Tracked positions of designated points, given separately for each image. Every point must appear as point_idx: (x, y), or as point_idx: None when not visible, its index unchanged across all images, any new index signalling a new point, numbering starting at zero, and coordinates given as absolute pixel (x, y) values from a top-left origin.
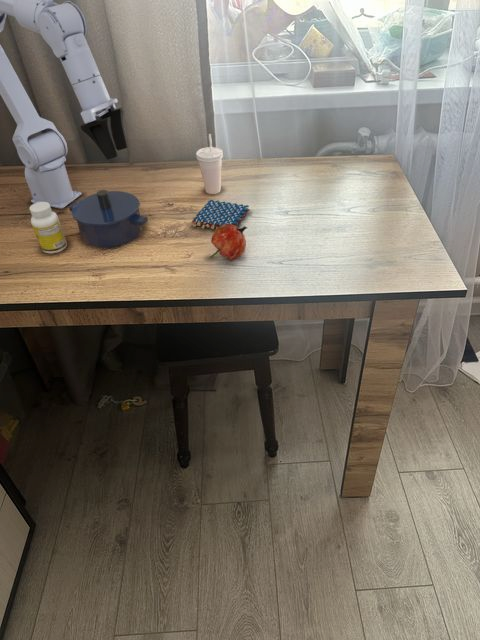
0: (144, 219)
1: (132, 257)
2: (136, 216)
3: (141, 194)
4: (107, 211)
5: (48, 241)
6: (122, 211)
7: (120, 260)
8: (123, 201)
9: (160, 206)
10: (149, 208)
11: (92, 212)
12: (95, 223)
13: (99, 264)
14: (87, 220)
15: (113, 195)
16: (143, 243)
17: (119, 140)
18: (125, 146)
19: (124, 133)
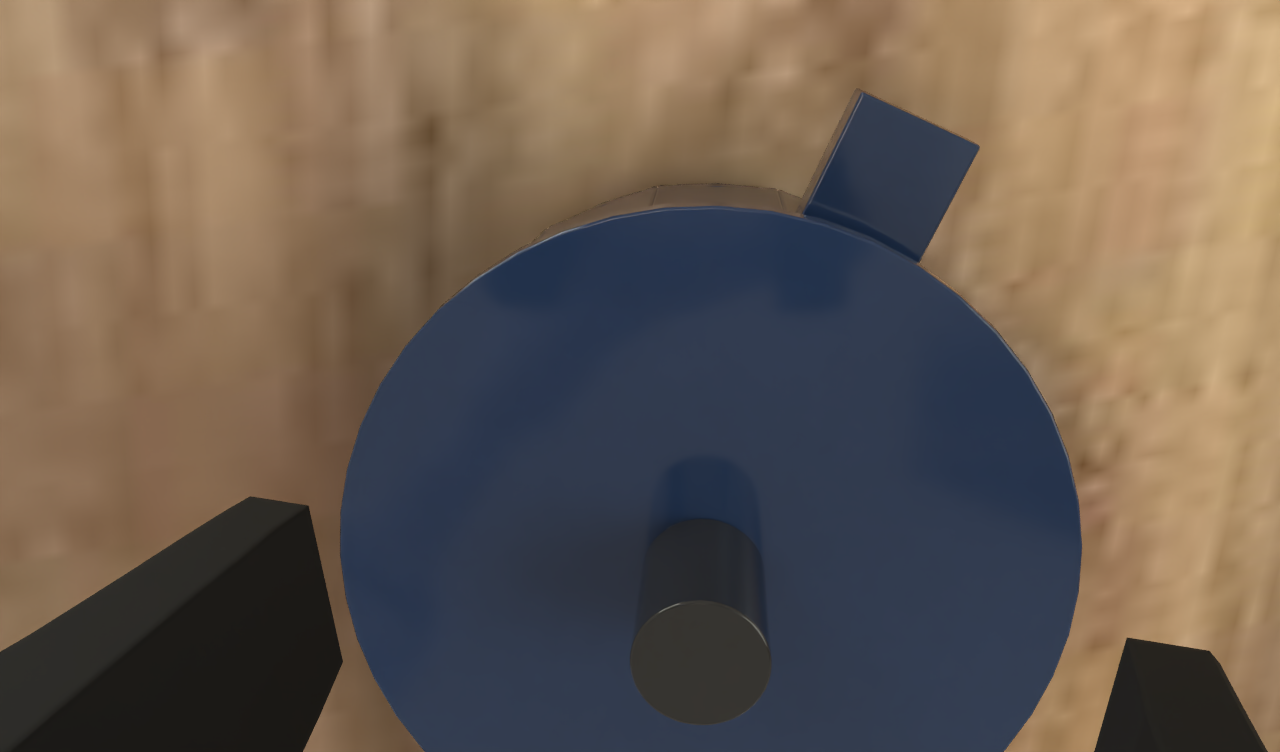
0: (914, 115)
1: (1198, 207)
2: (841, 218)
3: (5, 282)
4: (811, 541)
5: None
6: (834, 380)
7: (1226, 311)
8: (592, 403)
9: (241, 47)
10: (286, 161)
11: (817, 685)
12: (1062, 621)
13: (1252, 481)
14: (980, 706)
15: (444, 532)
16: (963, 134)
17: (214, 714)
18: (295, 540)
19: (31, 661)
